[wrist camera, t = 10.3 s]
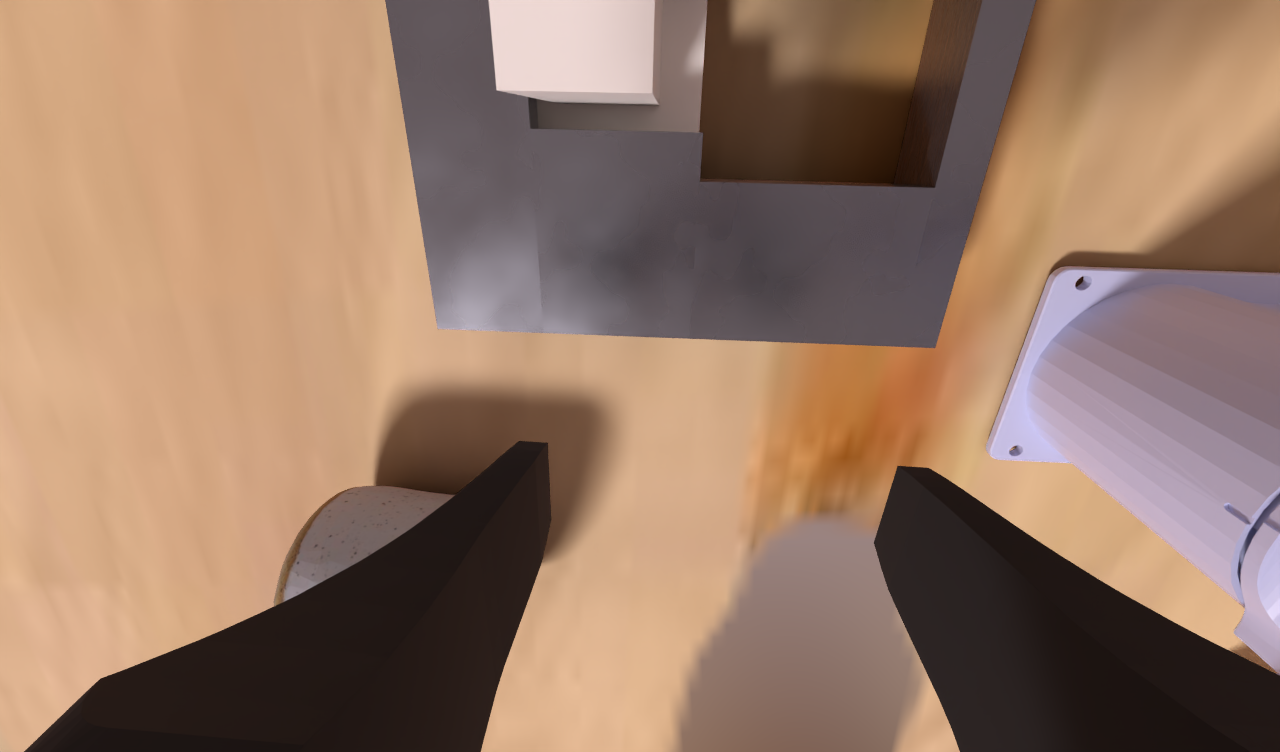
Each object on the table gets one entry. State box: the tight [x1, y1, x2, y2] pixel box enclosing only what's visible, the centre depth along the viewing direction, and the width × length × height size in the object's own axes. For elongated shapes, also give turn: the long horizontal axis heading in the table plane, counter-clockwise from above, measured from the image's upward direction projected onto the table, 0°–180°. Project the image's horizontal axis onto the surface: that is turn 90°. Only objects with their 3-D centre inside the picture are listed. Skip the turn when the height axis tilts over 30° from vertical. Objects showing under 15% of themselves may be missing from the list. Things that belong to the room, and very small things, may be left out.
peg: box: [489, 0, 708, 132], centre depth 13 cm, size 6×6×8 cm
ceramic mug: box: [274, 486, 455, 606], centre depth 23 cm, size 11×8×8 cm
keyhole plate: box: [385, 0, 1036, 348], centre depth 15 cm, size 16×16×4 cm
